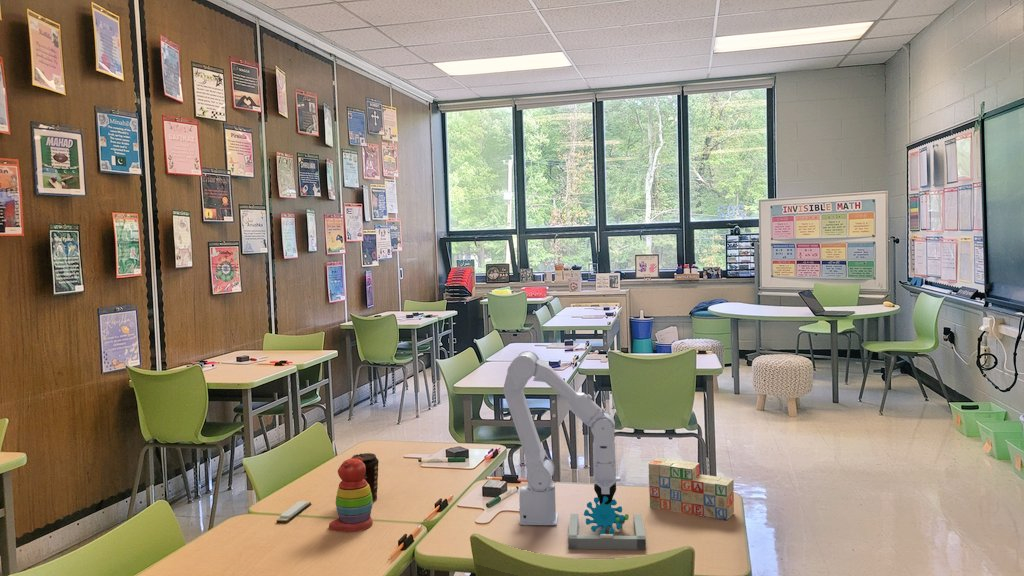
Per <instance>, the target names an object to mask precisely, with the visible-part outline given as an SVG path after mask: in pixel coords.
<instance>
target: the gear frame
mask: <svg viewBox="0 0 1024 576" xmlns="http://www.w3.org/2000/svg"><path fill="white" fill-rule="evenodd" d="M632 517H633V529H634V535H614V534H609V533H605V534H600V533H599V534H600V535H599V534H598V535H597V534H596V535H595V534H594V535H592V534H590V535H589V534H579V513H570V516H569V525H568V526H569V527H568V535H567V536H568V539H567V543H568V549H569V550H580V549H581V550H628V551H629V550H632V551H634V550H637V551H646V550H647V542H646V541H647V540H646V534H645V533H646V532H645V528H644V522H643V516H642V514H638V513H637V514H633V516H632Z"/></svg>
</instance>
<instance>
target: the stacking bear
mask: <svg viewBox="0 0 1024 576" xmlns="http://www.w3.org/2000/svg"><path fill="white" fill-rule="evenodd" d="M351 458H352V457H351ZM351 458H347V459H346V460H344V461H343V462H342V463H341V464H340V466H339V467H338V469H337V474H338V476H339V478H340V480H341V481H340V482H339V484H338V487H337V491H336V495H335V505H336V507H335V508H336V512H337V517H338V518H334V520H333V519H332V521H330V522H329V524H328V529H329V530H330V531H334V532H340V533H355V532H357V533H358V532H362V531H365V530H368V529H369V528H371V527H372V525H373V522H374V521H373V518H372V516H371V514H372V509H373V503H374V502H373V501H372V493H371V490H370V486H369V484H368V483H367V481H366V480H365V479H363V478H364V476H365V472H366V467H365V464H364V463H363V462H362V461H363V460H362V458H361V457H358V458H357V459H355V458H352V459H351Z"/></svg>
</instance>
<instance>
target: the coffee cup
mask: <svg viewBox="0 0 1024 576" xmlns="http://www.w3.org/2000/svg"><path fill="white" fill-rule="evenodd" d="M358 457H361V458H362V460H363V461H362V462H363V463H364V464H365V467H366V472H365V476H364V478H363V479H365V480H366V481H367V483H368V484H369V486H370V490H371V493H372V501H373V503H375V502H376V501H377V499H378V487H379V486H378V485H379V484H378V483H379V482H378V480H379V463H380V462H379V461H380V460H379V459H378V458H377V455H376V454H375V453H372V452H368V453H367V452H366V453H365V452H364V453H359V454H358V453H357V454H354V455H352V457H350V459H352V458H355V459H357V458H358Z"/></svg>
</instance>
